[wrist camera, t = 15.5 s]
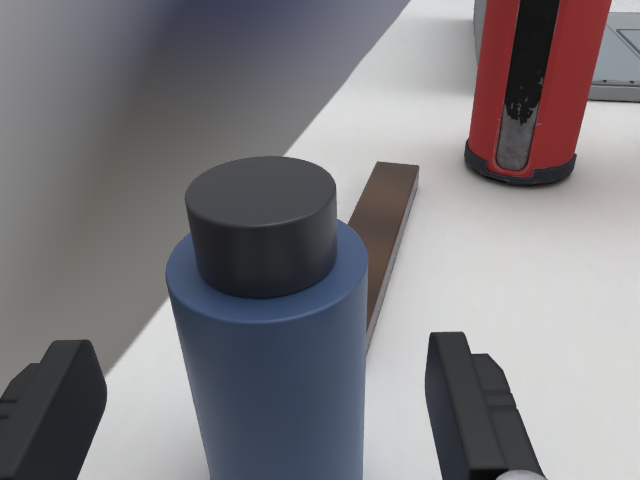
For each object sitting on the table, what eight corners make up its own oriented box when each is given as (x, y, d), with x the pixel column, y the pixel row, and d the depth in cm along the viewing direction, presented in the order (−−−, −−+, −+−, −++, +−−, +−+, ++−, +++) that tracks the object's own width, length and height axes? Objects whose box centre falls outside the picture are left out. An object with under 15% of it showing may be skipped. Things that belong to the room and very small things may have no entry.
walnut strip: (362, 368, 24) (363, 343, 23) (298, 355, 25) (296, 331, 24) (418, 184, 39) (419, 165, 38) (376, 179, 39) (376, 160, 39)
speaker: (450, 176, 39) (485, -124, 30) (477, 137, 45) (514, -125, 35) (564, 197, 36) (645, -129, 27) (578, 153, 42) (648, -129, 32)
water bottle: (280, 596, 17) (235, 280, 10) (188, 482, 20) (109, 187, 13) (392, 485, 20) (415, 185, 13) (296, 402, 23) (276, 128, 16)
